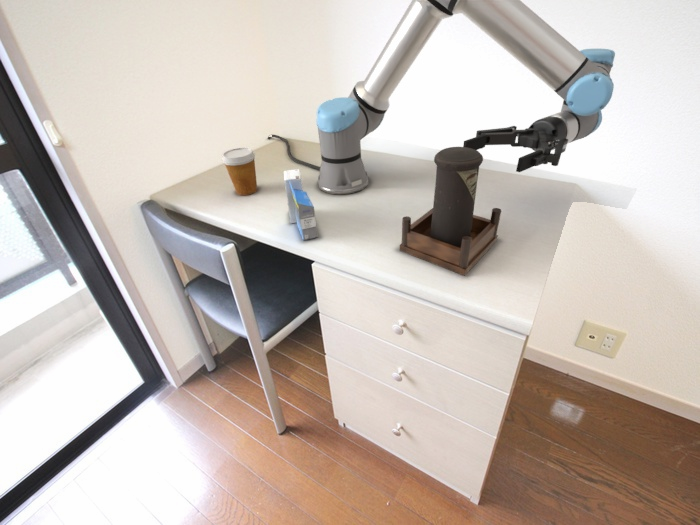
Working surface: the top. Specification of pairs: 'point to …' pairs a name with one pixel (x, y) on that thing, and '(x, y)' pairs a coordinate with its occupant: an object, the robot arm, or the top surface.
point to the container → (454, 194)
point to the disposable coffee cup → (241, 169)
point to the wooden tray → (445, 254)
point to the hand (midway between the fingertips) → (490, 155)
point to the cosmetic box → (297, 185)
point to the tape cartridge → (304, 214)
